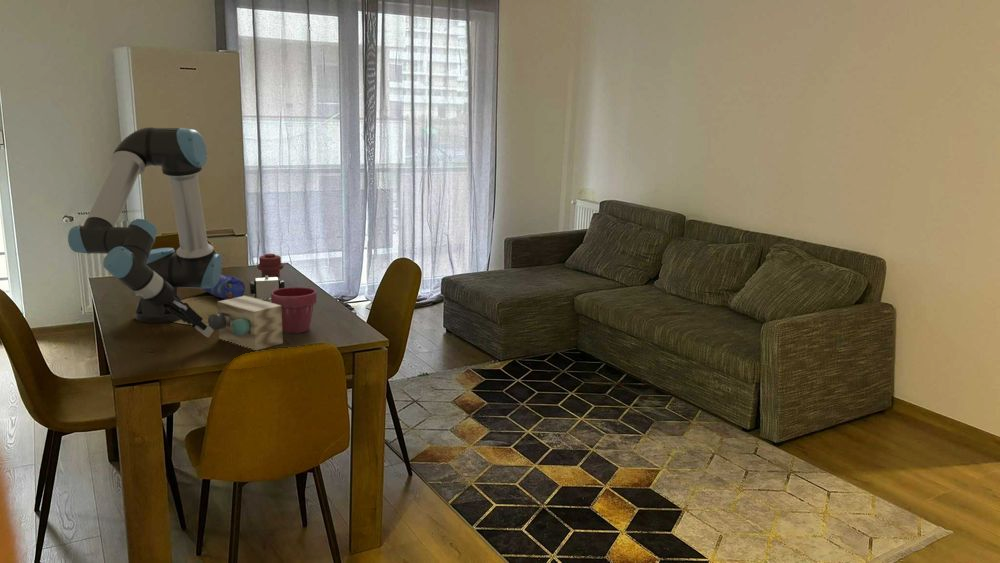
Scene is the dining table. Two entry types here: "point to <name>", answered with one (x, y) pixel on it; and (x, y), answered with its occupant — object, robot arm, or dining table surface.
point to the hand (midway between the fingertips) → (210, 333)
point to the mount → (252, 322)
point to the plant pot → (295, 307)
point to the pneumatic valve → (265, 287)
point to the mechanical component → (270, 265)
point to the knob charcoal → (218, 321)
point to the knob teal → (241, 326)
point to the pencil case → (227, 288)
